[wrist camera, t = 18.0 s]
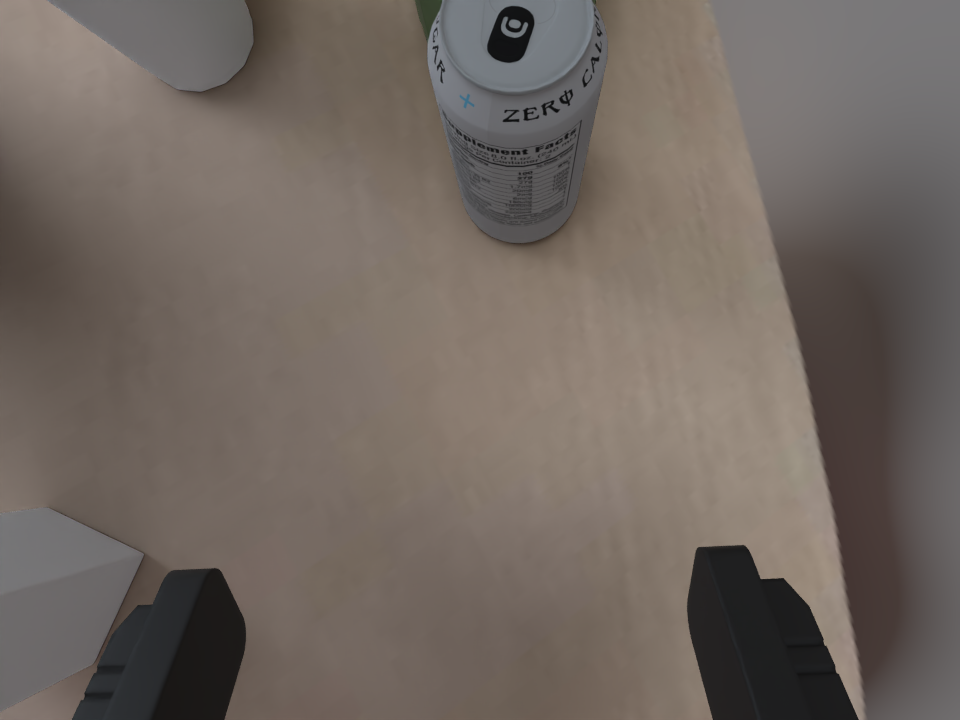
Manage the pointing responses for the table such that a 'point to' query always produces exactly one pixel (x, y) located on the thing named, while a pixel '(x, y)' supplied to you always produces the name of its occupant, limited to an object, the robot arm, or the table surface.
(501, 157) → the energy drink can
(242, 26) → the foam cup
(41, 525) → the milk
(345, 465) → the table surface
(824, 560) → the table surface
